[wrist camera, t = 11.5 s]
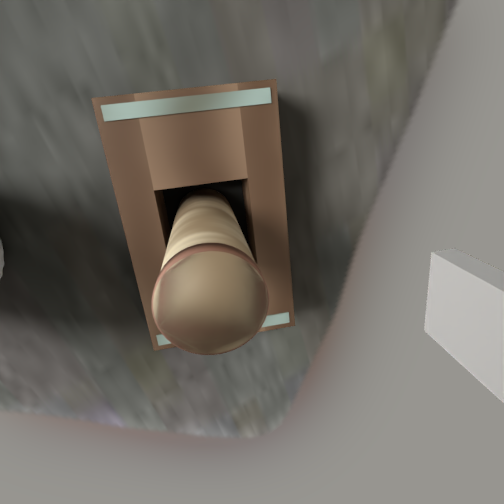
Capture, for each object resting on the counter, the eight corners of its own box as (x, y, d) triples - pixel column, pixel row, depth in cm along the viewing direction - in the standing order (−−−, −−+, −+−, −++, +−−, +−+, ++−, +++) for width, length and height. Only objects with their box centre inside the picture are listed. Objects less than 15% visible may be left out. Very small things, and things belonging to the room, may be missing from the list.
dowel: (181, 246, 26) (164, 364, 13) (171, 191, 24) (139, 260, 11) (236, 237, 26) (274, 343, 13) (228, 183, 25) (263, 241, 12)
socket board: (160, 320, 27) (153, 351, 24) (109, 103, 22) (90, 97, 18) (282, 300, 28) (295, 326, 25) (263, 87, 23) (276, 78, 19)
